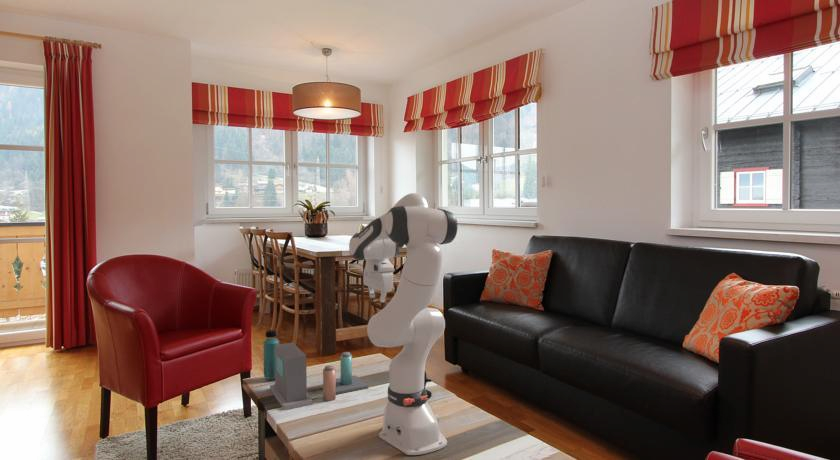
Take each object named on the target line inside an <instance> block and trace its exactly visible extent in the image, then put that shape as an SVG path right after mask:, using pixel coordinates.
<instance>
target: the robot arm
mask: <svg viewBox="0 0 840 460" xmlns="http://www.w3.org/2000/svg"><path fill="white" fill-rule="evenodd" d="M458 227H459V226H458V220H457V217H456V216H455V214H454V213H453V212H451V211H449V210H445V209H443V208H442V209H441V208H434V207H433V208H432V207H429V203H428V201H427V199H426V198H425V197H424V196H423V195H421V194H419V193H416V192H415V193H413V192H412V193H407V194H406V195H404V196H402V198H400V199H399V200H398V201H397V202H396V203H395V204H394V205H393V207H391V208H390V209H389V210H388V211H387V212H386V213H384V214H382V215H381V216H379V217H376V218H375V219H373V220H372V221H370V222H369V223H368V224H367V225H366V226H365V227H364V228H363V229H362V230H361V231H359V232H356V233H354V234H353V235H352V236H351V238H350V240H349V243H348V245H349V246H348V250H349V254H350V256H352V258H353V259H355V260H356V261H365V267H364V269H363V277H362V278H363V280H362V281H363V285H364V286H367V287H368V288H367V289H368V293H369V298H371V299H375V298H376V293H375V290H378V291H380V292H379V293H380V296H379V302H380V303H385V302H386V298H387V294H388V293H389V292H392V291H393V289H394V273H393V272H394V271H395V266H394V265H393V263H392V262H391V261H390V260H389V259H392V258H393V259H394V258H396V257H397V255H398V254H399V253H400V249H402V248H403V247H404V246H405V247H406V257H405V260H404V263H403V267H402V270H401V275H400V278H399V279H400V280H399V282H398V286H397V289H396V291H395V294H394V295H393V296H392V298H391V300H390V301H389V302H388V303H387V304H386V305H385V306H384V307H383V308H382V309H381V310H379V312H377V313H375V314H374V315H372V316H371V318H370V319H369V321H368V323H367V328H366V329H367V330H366V331H367V332H366V333H367V337H368V339H369V341H370V343H372V344H373V346H375V347H380V348H381V347H382V348H395V347H396V348H397V347H402V346H403V347H402V349H401V350H400V352H399V353H398V354H397V355H395V356H394V357H393V358H392V359H391V360H390V363H389V367H388V369H389V370H388V371H389V373H388V374H389V375H388V377H389V379H388V380H389V381H388V383H389V384H388V387H387V392H386V393H387V400H388V401H387V404H386V405H385V407H384V410H383V418H382V419H383V420H382V429H381V431H380V432H379V433H378V437H379V439H382V440H383V441H384V442H386V443H388V444H389V445H391V446H393V447H394V448H396V449H397V450H399V451H400V452H402V453H403V454H405V455H407V456H417V455H425V454H430V453H433V452H435V451H438V450H441V449H443V448H445V447H446V446H447V445H448V440H447V439H446V437H445V436H444V434H443V433H442V432H441V431H440V425H439V422H440V416H439V415H438V414H435V413H434V412H433V408H432V407H431V406H430V405H429V403H428V398H427V396H428V395H427V392H426V390H427V389H426V386H424V374H425V371H426V362H427V358H428V355H429V353H430V352H431V349H432V347H433V346H434V344H435V343H436V342H437V341H438V340H439V338H441V337H442V336H443V334H444V332H445V328H446V319H445V316H444V315H443V313H442V312H441V311H440V310H439V309H437V308H435V307H434V308H433V307H429V306H430V305H431V304H432V302H433V300H434V296H435V294H436V290H437V286H438V282H439V279H440V275H441V269H442V262H443V261H442V260H443V259H442V258H443V251H442V249H441V247H440V246H439V245H446V244H450V243H452V242H453V241H454V240H455V238H456V236H457V233H458Z"/></svg>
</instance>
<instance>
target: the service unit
mask: <svg viewBox="0 0 840 460" xmlns="http://www.w3.org/2000/svg"><path fill="white" fill-rule="evenodd" d="M307 378H308V377H307V354H306V353H304V352H303V351H302V350H301V349H300V348H299V347H298V346H297V345H296V344H295V343H294V342H288V343H287V342H286V343H279V345H275V378H274V384H270V385H269V390H270V391H271V392H272V394H273V396H274V397H275V399H276V400H277V402H278V404H280V406H281V408H282V409H283V411H287V410H292V409H297V408H302V407H307V406H311V405H313V404H314V403H313V399H312V397H310V396H309V394H308V390H307V388H308V387H307V384H308V383H307Z"/></svg>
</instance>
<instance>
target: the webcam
mask: <svg viewBox="0 0 840 460" xmlns="http://www.w3.org/2000/svg"><path fill="white" fill-rule="evenodd" d="M431 382H432V379H429V378H427V373H426V370H425V374H424V386H425V387H426V385H427V383H431ZM426 392H427V395H428V396H427V398H429V399H430V398H431V397H432V395H433V394H432V391H430V390H428V389H426Z"/></svg>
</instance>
